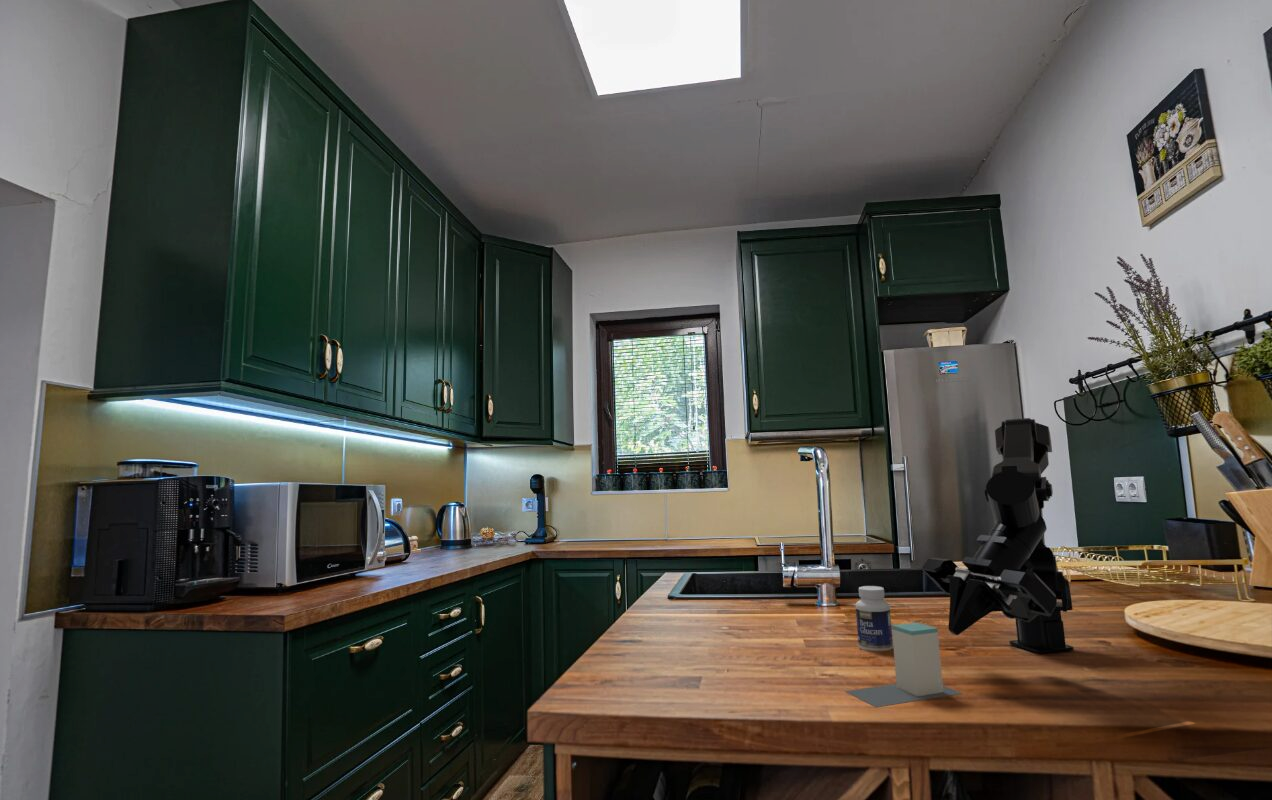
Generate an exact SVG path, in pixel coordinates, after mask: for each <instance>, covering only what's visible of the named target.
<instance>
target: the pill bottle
mask: <svg viewBox="0 0 1272 800" xmlns="http://www.w3.org/2000/svg"><path fill="white" fill-rule="evenodd" d="M858 596H859V598H860V599H859V600H858V601H856V603H855V617H856V629H857V644H858V648H859V649H861V650H862V651H864V650H866V651H870V652H871V651H872V652H886V651H890V650H893V649H894V647H893V635H892V618H891V607H890V603H889V602H888V601H886V600H884V598H885V589H884V587H882V586H878V585H877V586H876V585H863V586H859V587H858Z"/></svg>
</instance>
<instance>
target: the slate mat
mask: <svg viewBox="0 0 1272 800" xmlns="http://www.w3.org/2000/svg"><path fill="white" fill-rule="evenodd" d="M844 692H845V693H846V694H848V695H851V696H852V697H853V698H856V699H858V700H860V701H862V702H865V704H866V703H867V704H868V705H870V706H872V707H874V708H879V707H887V706H893V705H899V704H906V703H912V702H913V703H914V702H919V701H925V700H931V699H937V698H944V697H951V696H956V695H963V694H964V693H963V692H960V691H958V690H955V689H953V688H950V687H948V686H946V685H943V692H941V693H935V694H928V695H922V696H916V695H913V694H911V693H909V692H907V691H904V690H902V689H900V688H898V687H897V683H890V684H885V685H884V684H883V685H879V686H877V685H876V686H871V687H864V688H858V689H857V688H855V689H851V690H844Z"/></svg>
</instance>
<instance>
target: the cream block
mask: <svg viewBox="0 0 1272 800" xmlns="http://www.w3.org/2000/svg"><path fill="white" fill-rule="evenodd" d="M891 628H892V641H893V656H894V658H893V660H894V669H895V670H894V671H895V681H896V683H895V684H897V687H898V688H900V689H902V690H904V691H907V692H909V693H911V694H913V695H916V696H922V695H928V694H935V693H941V692H943V686H944V684H943V675H942V664H941V654H940V653H941V652H940V641H939V633H938V631H939V630H938V628H937V627H934V626H932V625H927V624H923V623H921V622H907V623H901V624H900V623H899V624H891Z"/></svg>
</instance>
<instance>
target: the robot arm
mask: <svg viewBox="0 0 1272 800" xmlns="http://www.w3.org/2000/svg"><path fill="white" fill-rule="evenodd" d="M994 437H995V438H994V439H995V450H996V452H997V454H998V455H1000V456H1001V457H1002V461H1001V462H999V463H997V464H995V465H994V466H993V468H992V472H991V477H990V478H987V481H986V484H985V488H984V496H985V499H986V502H989V506H990V508H991V513H992V516H993V518H994V520H995V524H994V526H993V527H992V528H991V530H990V531H989V533H988V535H986V534H979V535H978V537H977V539H976V541H977V543H979V545H980V546H979V548H978V550H977V551H976V552H975V554H974V556H973V557H968V556H965V557H964V558H963V560H962V561H961V563H962V564H963V565H964V566H965V568H963V567H959V566H958V565H957V564H956V563H955V562H954V561H953V560H952V559H949V558H948V559H947V558H940V557H929V558H927V559H926V561H925V562H924V564H922V565H923V566H922V567H921V570H922V572H923V573H924V574H925V575H926V576H927V577H928V578H929V579H930V580H931V581H932V582H933V583H934V584H935V585H936V586H937V587H938V588H939V589H940V590H941V591H942V592H943V593H945V594H947V595H948V596H949V615H948V628H947V629H948V631H949V632H950V633H951V634H952V635H955V636H959V635H960V634H962V633H963V632H965V631H966V630H967V629H969V628H970V627H971V626H973V625H974V624H975V623H977V622H978V621H980V620H981V619H982V618H984V617H986V616H987V615H989V614H991V613H993V612H994V613H995V612H1002V614H1003V615H1004V616H1005V617H1007V618H1009V619H1012V620H1013V619H1014V620H1015V628H1016V637H1017V639H1013V640H1009V641H1008V643H1009V644H1010V645H1012V646H1015V647H1018V648H1021V649H1023V650H1027V651H1031V652H1034V653H1036V654H1045V653H1047V654H1048V653H1055V652H1056V653H1057V652H1066V651H1073V650H1075V649H1074V646H1073V645H1069V644H1067V643H1066V636H1065V627H1064V620H1062V619H1063V618H1062V613H1061V612H1063V613H1067V612H1068V611H1073V609H1074V608H1073V601H1072V593H1071V588H1070V586H1071V585H1070V581H1069V579H1067V578H1066V577H1065V575H1064V572H1063V571H1059V569H1058V563H1057V558H1056V556H1055V555H1054V552H1053V550H1052V549H1051V548H1050V547H1048V546H1046V541H1045V533H1046V531H1047V529H1048V528H1047V524H1046V521H1045V519H1044V516H1043V509H1045V508H1044V507H1045V502H1049V501H1050V499H1051V497H1053V494H1054V493H1053V491H1054V490H1053V485H1052V483H1050V481H1049V480H1048V479H1047V476H1042V474H1043V473H1044V472H1045V470H1046V469H1047V468H1048V466H1049V463H1050V462H1049V453H1053V449H1052V448H1053V447H1052V437H1051V432H1050V428H1049V426H1047V425H1044V424H1041V423H1038V422H1036V419H1035V418H1030V417H1025V418H1023V417H1022V418H1012V419H1005V421H1003V420H1002V421H1001V426H999V427H998V428H996V429H994ZM1059 600H1060V601H1059Z"/></svg>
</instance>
